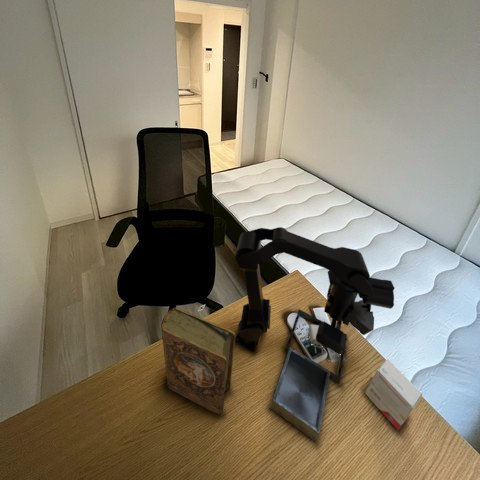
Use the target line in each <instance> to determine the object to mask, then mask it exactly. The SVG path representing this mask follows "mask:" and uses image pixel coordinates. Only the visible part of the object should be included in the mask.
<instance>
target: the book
mask: <svg viewBox="0 0 480 480" xmlns="http://www.w3.org/2000/svg"><path fill="white" fill-rule="evenodd" d="M160 326H161V336H162V337H161V338H162V344H163V345H162V346H163V355H164V364H165V366H164V367H165V373H166V374H165V375H166V383H167V388H168V389H169V390H171V391H173V392H175V393H177V394H179V395H181V396H183V397H185V398H187V399H188V400H190V401H192V402H194V403H195V404H198V405H200V406H201V407H203V408H205V409H207V410H209V411H211V412H213V413H215V414H217V415H219V416H220V415H222V414H223V411H224V401H225V400H224V399H225V392H226V391H228V390H230V389H231V384H232V374H233V364H234V363H233V362H234V353H235V343H236V341H235V338H236V332H234V330H231V329H229V328H226V327H224V326H222V325H219V324H217V323H214V322H212V321H210V320H207V319H206V318H203V317H200V316H198V315H197V314H194V313H191V312H189V311H186V310H184V309H181V308H178V307H177V306H176V307H172V308H171V309H169V310H168V311H167V313H166V314H165V315H164V316H163V318H162V321H161V325H160Z"/></svg>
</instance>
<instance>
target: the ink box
mask: <svg viewBox="0 0 480 480" xmlns="http://www.w3.org/2000/svg"><path fill="white" fill-rule="evenodd" d="M365 395H366V396H367V397H368V399H370V401H371V402H372V403H373V404H374V405H375V406H376V408H377V409H378V410H379V411H380V412H381V413H382V415H384V417H385V418H387V420H388V421H389V422H390V423H391V425H392V426H393V427H394V428H395V429H396V430H398V431H399V430H400V428H401V427H402V425H403V424H404V423H405V422H406V420H407V418H408V417H409V416H410V414H411V413H412V412H413V410H414V409H415V407H416V406H417V405H418V403H419V401H420V399H421V398H422V396H423V393H422V392H421V391H420V390H419V388H417V387H416V386H415V385H414V383H412V382H411V381H410V379H409V378H407V377H406V376H405V374H403V373H402V371H400V369H399V368H398V367H397V366H395V365H394V363H392V362H391V361H390V359H388V358H387V359H385V361H383V362H382V363H381V364H380V366H379V367H378V368H377V369H376V371H375V373H374V375H373V377H372V378H371V381H370V382H369V385H368V387H367V388H366V390H365Z"/></svg>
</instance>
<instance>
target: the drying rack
mask: <svg viewBox="0 0 480 480" xmlns="http://www.w3.org/2000/svg"><path fill="white" fill-rule="evenodd" d="M300 318H302V319H304V320H306V321H308V322H310V323H311V324H313V325H319V324H320V322H323V321H322V320H320V319H318V318H317V317H315V316H313V315H311V314H310V313H307V312H305V311H303V310H301V309H300V308H299V309H298V311H297V314H296V316H295V320H294V321H293V324H292V328H291V330H290V333H289V337H288V339H287V342H286V346H285V350H284V352H286V353H287V354H288V351H289V348H290V347H291V343H292V340H293V337H294V334H295V332H296V328H297V325H298V322H299V319H300ZM343 333H344V334H345V336H346V337H345V343H344V349H343V352H342V354H341V355H340V354H339V359H338V364H337V372H336V373H334V372H333V371H331V370H329V371H330V377H329V380H331V381H333V382H334V383H336V384H337V385H339V384H340V383H341V380H342V373H343V372H342V371H343V368H344V359H345V354H346V343H347V341H348V334H347V333H345V332H343ZM291 348H292V349H294V348H293V347H291ZM296 351H297V352H299V351H298V350H296ZM301 354H302V355H304V354H303V353H301ZM306 357H307V358H309V357H308V356H306ZM309 359H310V360H312V359H311V358H309ZM314 362H315V363H317V362H316V361H314ZM319 365H320V366H322V365H321V364H319ZM324 368H325V369H327V368H326V367H324Z"/></svg>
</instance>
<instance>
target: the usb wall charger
mask: <svg viewBox="0 0 480 480" xmlns="http://www.w3.org/2000/svg"><path fill="white" fill-rule="evenodd" d="M318 327H319V325H315V324H313V323H311V324H309V326H308V329H309V333H308V335H309V334H310V340H309V342H310V341H311V344H314V347H315V348H314V347H313V348H314V353H315V354H317V349H321V354H322V355H324V347H322V346H323V345H322V344H320V343H318V342H317V340H316V334H317V330H318ZM315 344H316V345H320V346H315ZM316 347H318V348H316Z"/></svg>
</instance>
